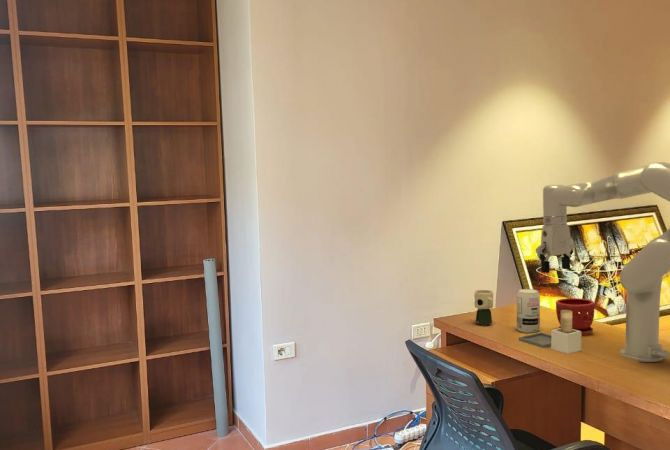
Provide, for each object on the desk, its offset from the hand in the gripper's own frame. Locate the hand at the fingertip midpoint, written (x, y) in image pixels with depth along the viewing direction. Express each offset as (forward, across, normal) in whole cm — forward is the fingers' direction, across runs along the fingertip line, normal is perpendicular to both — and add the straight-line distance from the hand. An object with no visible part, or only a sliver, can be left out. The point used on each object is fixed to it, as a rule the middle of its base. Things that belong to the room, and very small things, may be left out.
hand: (555, 270), depth 216 cm
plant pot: (+26, +15, +5) cm, 30 cm away
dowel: (+25, -5, -8) cm, 27 cm away
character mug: (+25, -4, +33) cm, 41 cm away
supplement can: (+25, +3, +17) cm, 31 cm away
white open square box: (+25, -5, -8) cm, 27 cm away
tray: (+25, -4, +3) cm, 26 cm away
